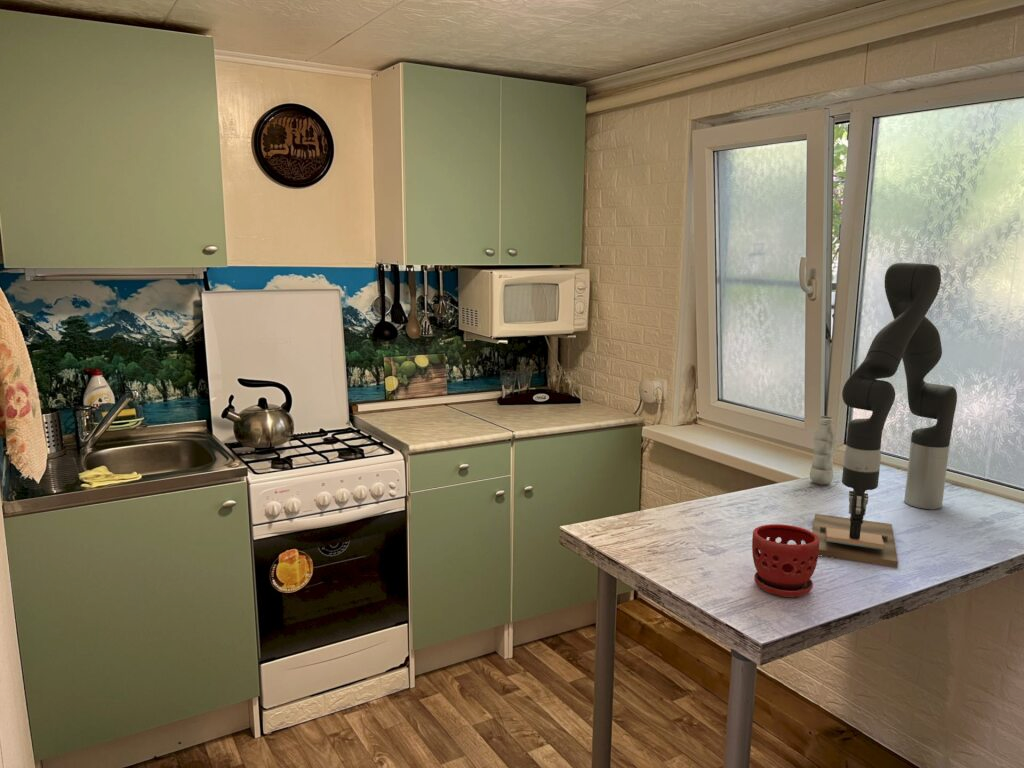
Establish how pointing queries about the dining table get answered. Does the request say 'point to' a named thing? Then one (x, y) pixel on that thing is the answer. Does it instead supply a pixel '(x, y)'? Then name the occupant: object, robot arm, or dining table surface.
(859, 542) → the tile
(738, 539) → the dining table surface
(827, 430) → the plastic bottle
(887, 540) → the board
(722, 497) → the dining table surface
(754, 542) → the plant pot
